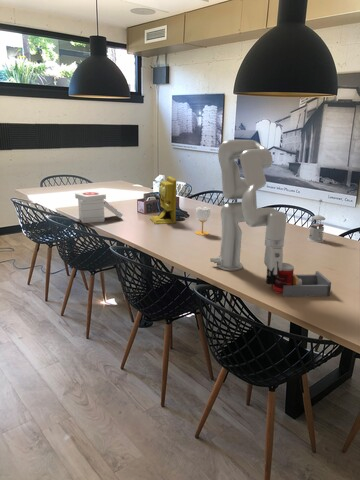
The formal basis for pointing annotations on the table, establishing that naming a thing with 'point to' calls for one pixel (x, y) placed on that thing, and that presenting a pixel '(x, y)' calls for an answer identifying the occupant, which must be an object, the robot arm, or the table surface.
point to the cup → (202, 218)
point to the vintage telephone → (167, 202)
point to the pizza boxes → (93, 207)
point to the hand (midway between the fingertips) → (270, 283)
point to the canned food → (283, 277)
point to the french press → (316, 233)
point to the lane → (309, 286)
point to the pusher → (296, 280)
